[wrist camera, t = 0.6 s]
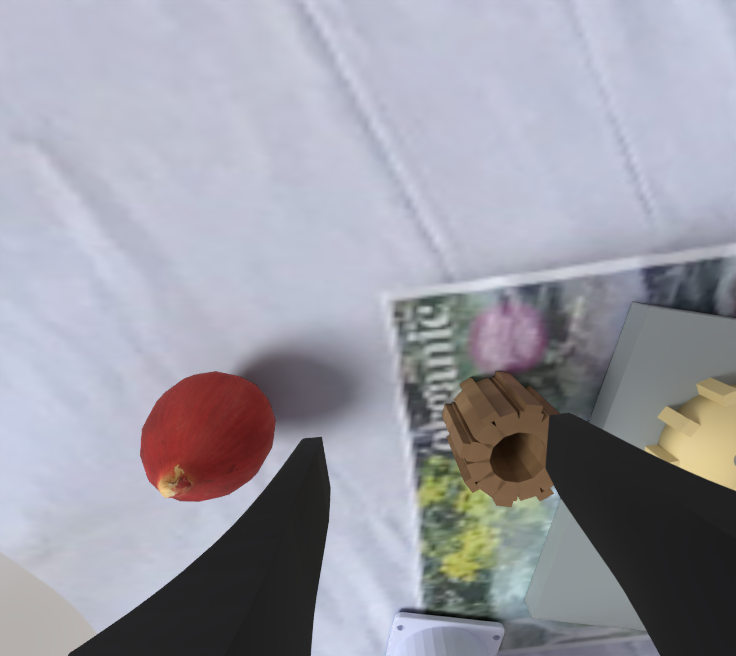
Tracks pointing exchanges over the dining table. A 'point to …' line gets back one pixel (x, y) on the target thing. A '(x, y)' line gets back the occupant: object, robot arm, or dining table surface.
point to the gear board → (646, 445)
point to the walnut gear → (500, 438)
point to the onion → (207, 437)
